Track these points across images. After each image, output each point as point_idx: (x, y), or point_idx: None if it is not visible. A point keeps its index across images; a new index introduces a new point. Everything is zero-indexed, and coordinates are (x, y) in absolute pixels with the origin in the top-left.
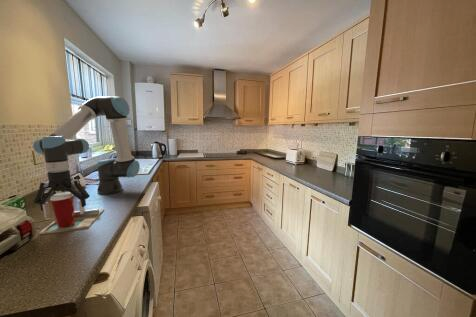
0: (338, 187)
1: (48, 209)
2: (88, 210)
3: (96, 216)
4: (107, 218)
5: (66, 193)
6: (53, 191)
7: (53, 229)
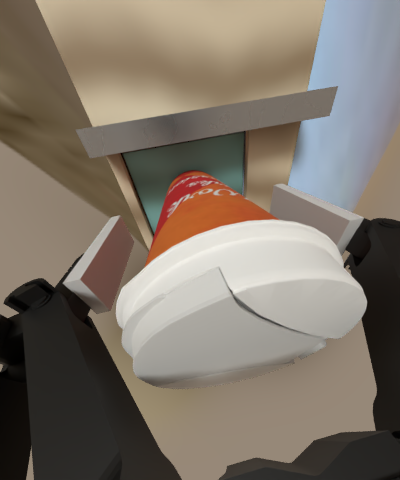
0: None
1: (111, 246)
2: (279, 114)
3: (294, 133)
4: (330, 148)
5: (298, 329)
6: (157, 475)
7: None
